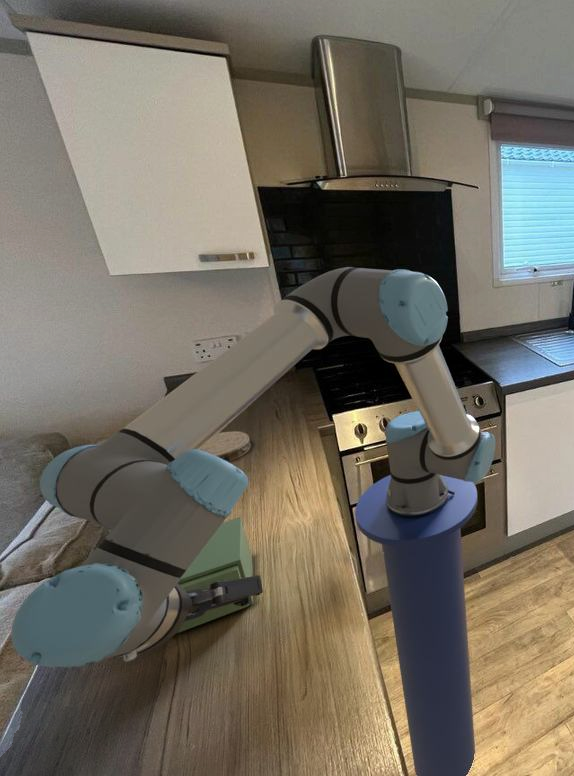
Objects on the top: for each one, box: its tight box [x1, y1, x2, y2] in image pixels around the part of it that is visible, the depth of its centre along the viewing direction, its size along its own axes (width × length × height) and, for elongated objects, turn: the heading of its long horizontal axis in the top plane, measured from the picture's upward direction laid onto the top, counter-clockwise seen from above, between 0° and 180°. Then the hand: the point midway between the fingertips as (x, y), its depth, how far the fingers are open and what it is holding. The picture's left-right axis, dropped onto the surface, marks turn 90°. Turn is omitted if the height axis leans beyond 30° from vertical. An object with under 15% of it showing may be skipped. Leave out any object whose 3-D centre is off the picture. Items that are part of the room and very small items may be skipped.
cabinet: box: [176, 516, 254, 634], centre depth 82 cm, size 14×12×11 cm
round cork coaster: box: [200, 430, 252, 463], centre depth 132 cm, size 16×16×3 cm
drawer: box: [176, 565, 249, 634], centre depth 79 cm, size 18×10×9 cm, turn 32°
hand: (188, 616), depth 64 cm, fingers open, 13 cm apart
